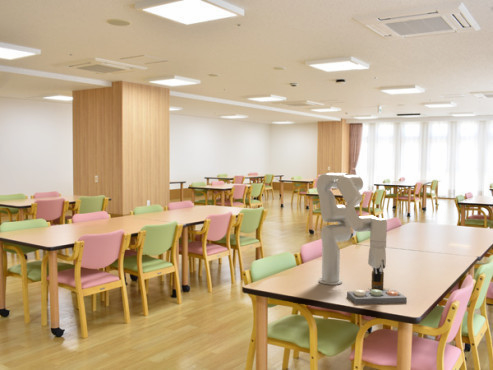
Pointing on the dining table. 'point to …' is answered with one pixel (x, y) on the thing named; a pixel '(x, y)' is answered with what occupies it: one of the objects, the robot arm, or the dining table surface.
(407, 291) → the dining table surface
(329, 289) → the dining table surface
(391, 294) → the button terracotta
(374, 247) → the robot arm
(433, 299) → the dining table surface
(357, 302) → the panel
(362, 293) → the button cream
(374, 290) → the button sage
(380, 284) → the condiment
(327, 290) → the dining table surface
